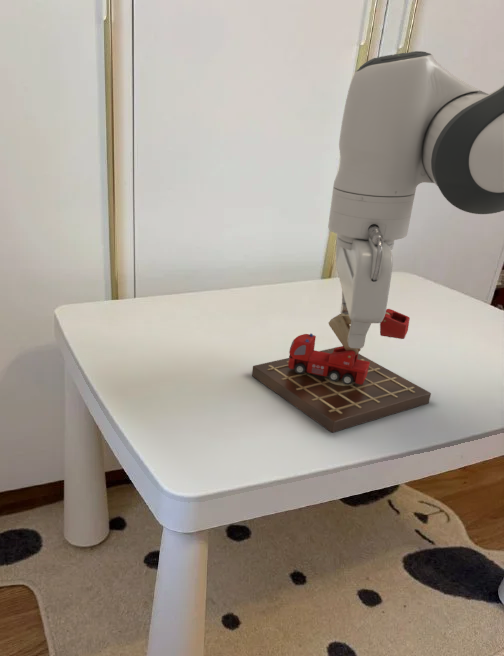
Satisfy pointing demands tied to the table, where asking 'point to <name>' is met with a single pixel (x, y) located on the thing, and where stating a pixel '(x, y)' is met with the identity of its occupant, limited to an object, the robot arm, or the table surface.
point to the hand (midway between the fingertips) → (351, 330)
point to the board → (342, 393)
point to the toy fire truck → (341, 350)
